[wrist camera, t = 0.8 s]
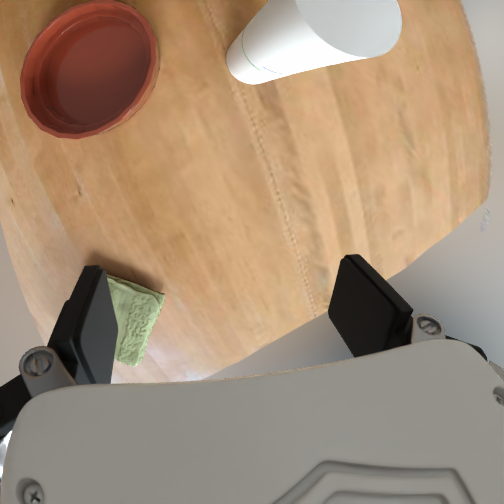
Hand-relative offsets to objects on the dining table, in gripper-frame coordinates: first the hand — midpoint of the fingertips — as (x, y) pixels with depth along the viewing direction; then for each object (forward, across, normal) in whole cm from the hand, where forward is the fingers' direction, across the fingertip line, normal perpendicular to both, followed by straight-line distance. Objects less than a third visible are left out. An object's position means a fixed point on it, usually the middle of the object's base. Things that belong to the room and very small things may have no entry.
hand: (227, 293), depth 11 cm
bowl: (+31, +14, -12) cm, 36 cm away
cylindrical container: (+31, -7, -14) cm, 34 cm away
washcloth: (+30, +14, +26) cm, 42 cm away
